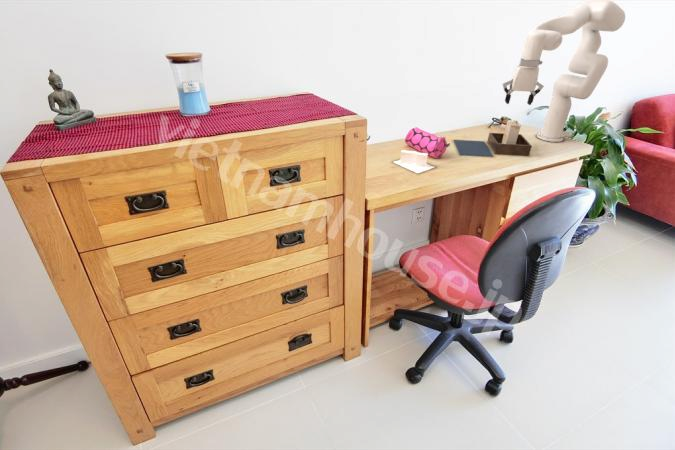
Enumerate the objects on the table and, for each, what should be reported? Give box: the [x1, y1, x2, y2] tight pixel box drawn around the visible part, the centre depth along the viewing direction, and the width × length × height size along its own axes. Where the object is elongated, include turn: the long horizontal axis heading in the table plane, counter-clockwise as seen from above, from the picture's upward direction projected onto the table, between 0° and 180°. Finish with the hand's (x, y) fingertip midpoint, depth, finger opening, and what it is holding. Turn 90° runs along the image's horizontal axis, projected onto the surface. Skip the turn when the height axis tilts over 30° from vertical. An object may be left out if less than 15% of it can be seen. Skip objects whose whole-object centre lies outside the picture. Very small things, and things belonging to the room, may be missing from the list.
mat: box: [453, 139, 494, 158], centre depth 182 cm, size 15×20×1 cm
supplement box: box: [500, 119, 522, 145], centre depth 179 cm, size 8×5×13 cm, turn 168°
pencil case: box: [404, 126, 451, 159], centre depth 175 cm, size 21×10×10 cm, turn 35°
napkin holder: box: [392, 149, 435, 174], centre depth 162 cm, size 15×11×6 cm
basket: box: [486, 132, 533, 157], centre depth 181 cm, size 16×17×5 cm
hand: (517, 103), depth 169 cm, fingers open, 9 cm apart
